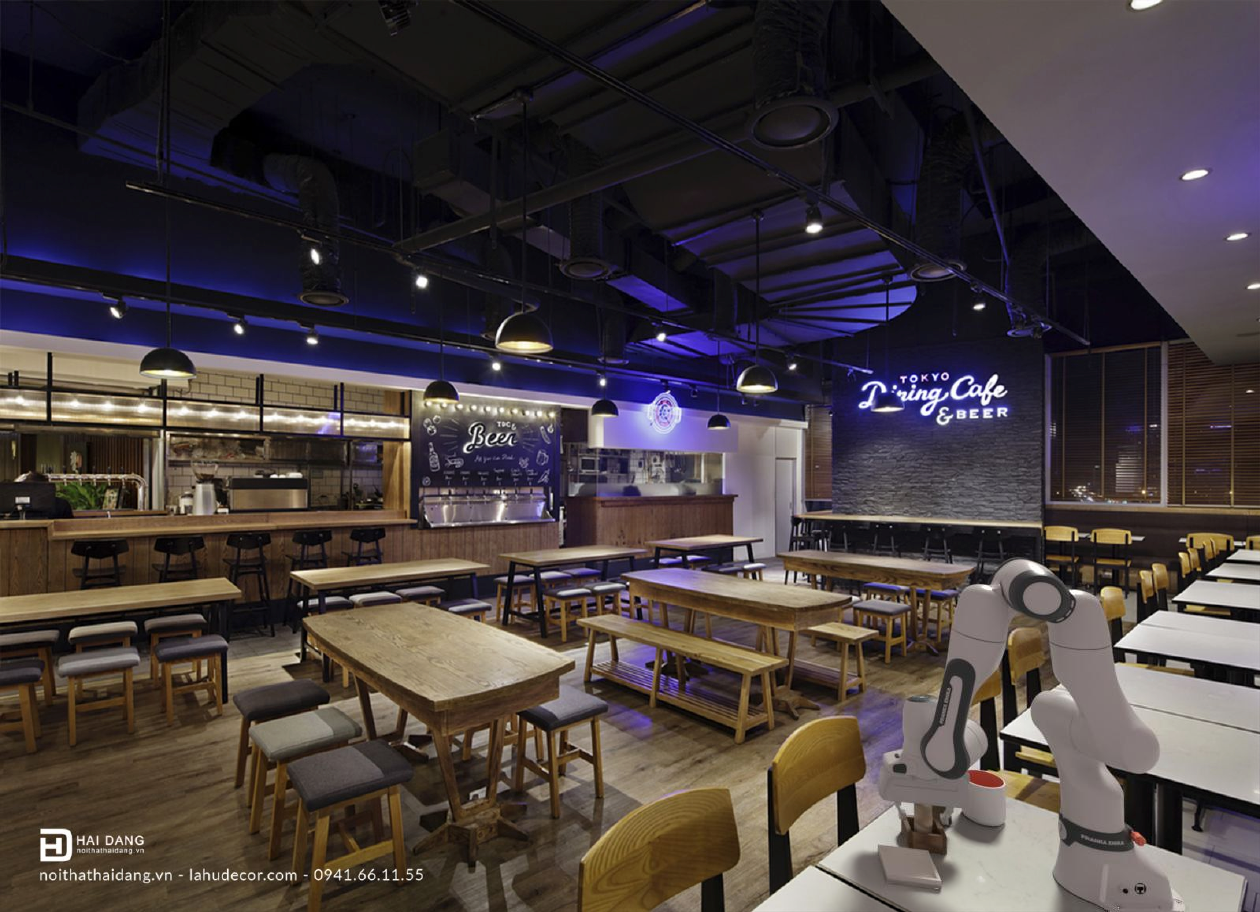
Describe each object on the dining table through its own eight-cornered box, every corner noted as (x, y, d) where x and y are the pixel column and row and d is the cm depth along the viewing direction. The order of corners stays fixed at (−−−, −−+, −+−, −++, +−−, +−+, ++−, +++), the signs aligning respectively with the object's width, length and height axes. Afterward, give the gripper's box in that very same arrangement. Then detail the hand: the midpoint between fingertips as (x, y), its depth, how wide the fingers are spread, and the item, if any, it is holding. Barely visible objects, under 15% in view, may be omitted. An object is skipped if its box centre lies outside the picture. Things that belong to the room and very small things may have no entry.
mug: (923, 815, 162) (922, 769, 162) (941, 813, 163) (941, 767, 163) (944, 833, 154) (943, 784, 154) (963, 830, 155) (963, 781, 155)
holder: (937, 834, 153) (937, 818, 153) (947, 855, 145) (947, 837, 145) (900, 830, 155) (900, 813, 155) (908, 850, 147) (908, 833, 147)
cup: (1012, 830, 155) (1011, 790, 155) (968, 826, 157) (968, 786, 157) (997, 809, 165) (996, 771, 165) (956, 805, 167) (956, 767, 167)
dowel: (930, 838, 152) (929, 797, 152) (934, 848, 148) (934, 805, 148) (912, 836, 152) (912, 795, 153) (916, 846, 148) (916, 803, 149)
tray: (928, 858, 144) (928, 850, 144) (941, 889, 133) (941, 881, 133) (877, 852, 146) (877, 844, 146) (886, 882, 135) (886, 874, 135)
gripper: (965, 761, 151) (965, 818, 151) (876, 753, 156) (876, 809, 155) (973, 773, 145) (974, 833, 145) (881, 764, 149) (881, 823, 149)
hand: (923, 820), depth 150 cm, fingers open, 8 cm apart
